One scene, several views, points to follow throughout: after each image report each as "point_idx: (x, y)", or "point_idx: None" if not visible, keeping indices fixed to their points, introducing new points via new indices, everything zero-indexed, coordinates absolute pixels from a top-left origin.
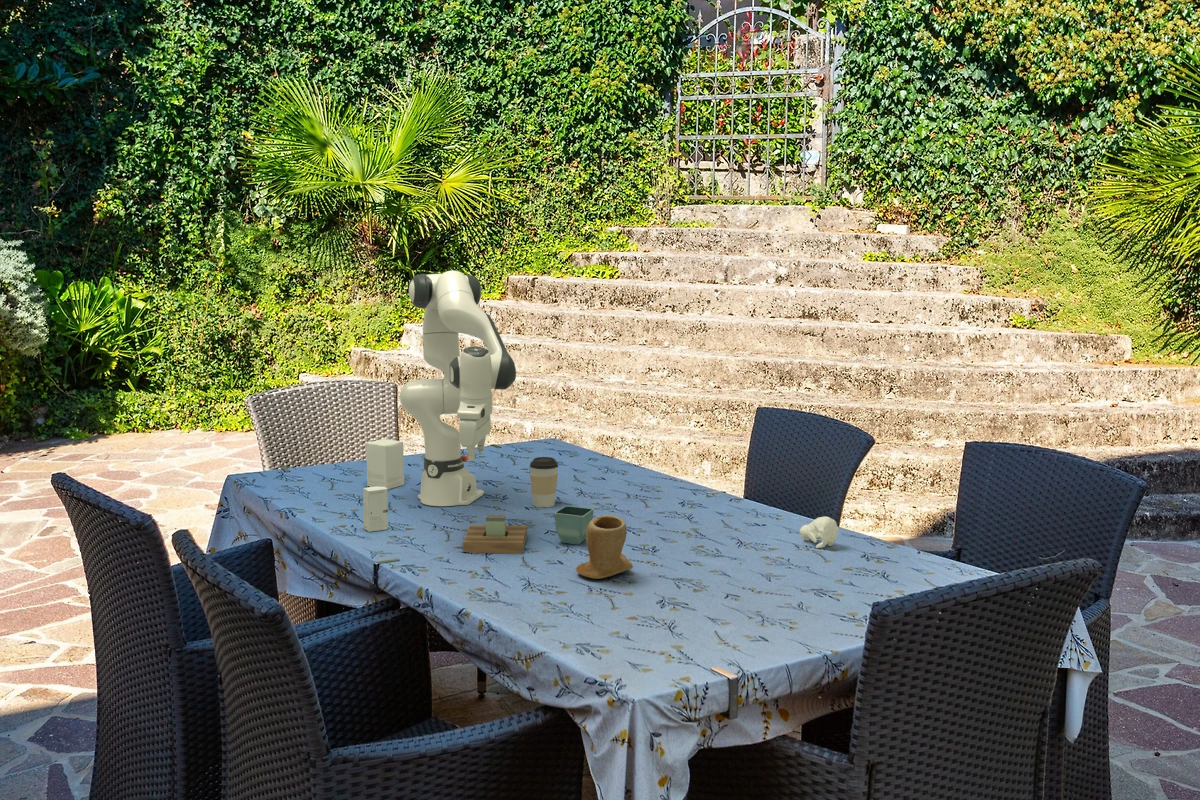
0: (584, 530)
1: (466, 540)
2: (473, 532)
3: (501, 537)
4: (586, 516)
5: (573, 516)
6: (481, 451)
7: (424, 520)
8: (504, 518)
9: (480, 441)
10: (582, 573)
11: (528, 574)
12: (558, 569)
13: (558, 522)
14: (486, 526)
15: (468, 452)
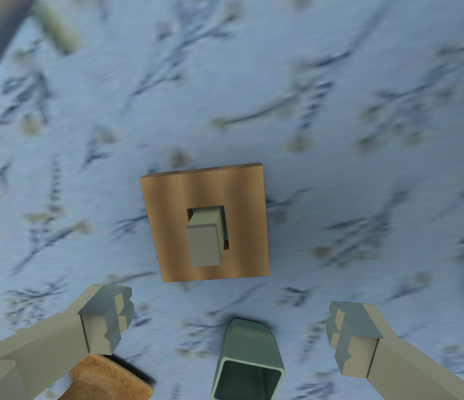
0: (227, 368)
1: (150, 182)
2: (208, 185)
3: (185, 243)
4: (227, 398)
5: (214, 384)
6: (328, 329)
7: (384, 13)
8: (196, 265)
9: (417, 394)
10: None
11: (74, 290)
12: None
13: (223, 347)
14: (189, 221)
15: (32, 332)
